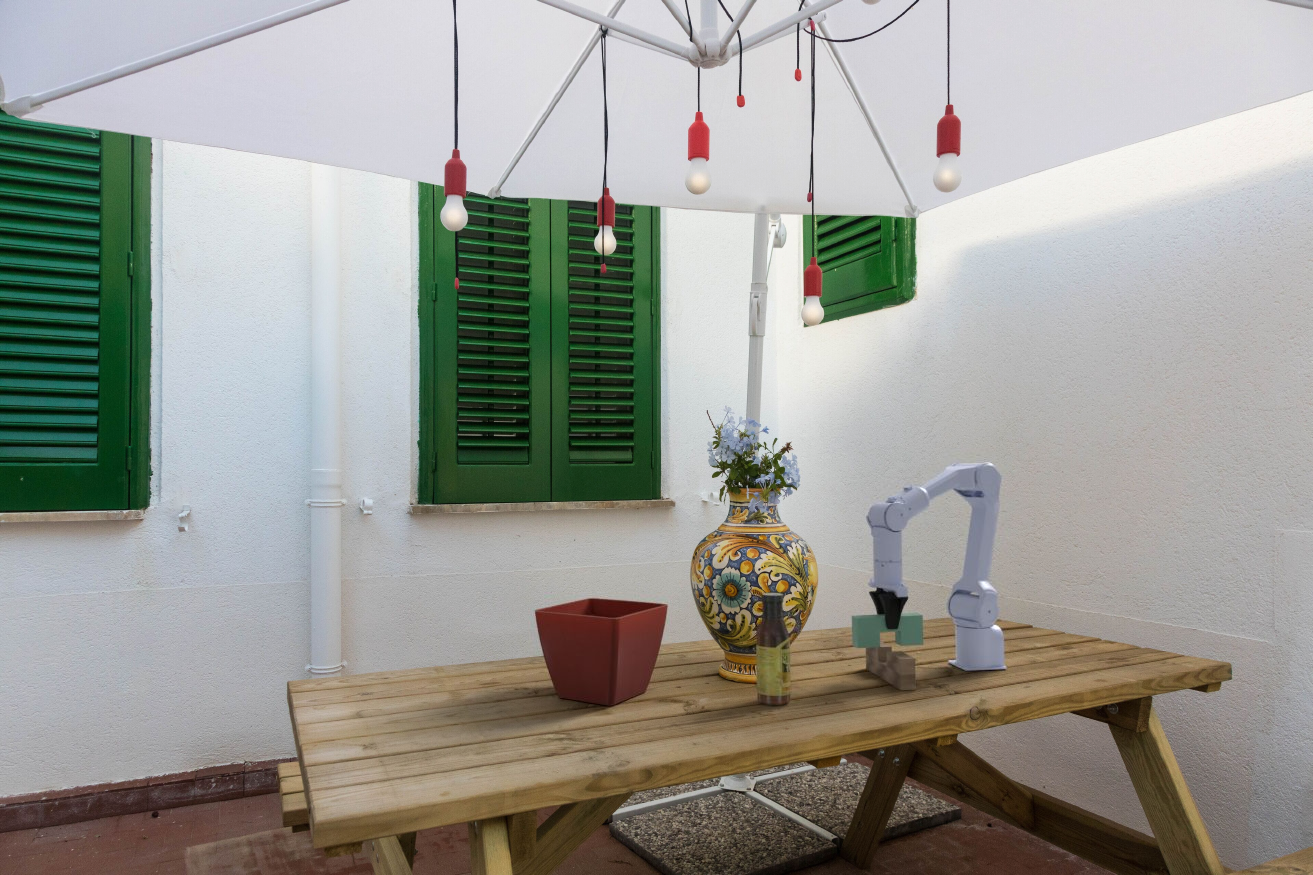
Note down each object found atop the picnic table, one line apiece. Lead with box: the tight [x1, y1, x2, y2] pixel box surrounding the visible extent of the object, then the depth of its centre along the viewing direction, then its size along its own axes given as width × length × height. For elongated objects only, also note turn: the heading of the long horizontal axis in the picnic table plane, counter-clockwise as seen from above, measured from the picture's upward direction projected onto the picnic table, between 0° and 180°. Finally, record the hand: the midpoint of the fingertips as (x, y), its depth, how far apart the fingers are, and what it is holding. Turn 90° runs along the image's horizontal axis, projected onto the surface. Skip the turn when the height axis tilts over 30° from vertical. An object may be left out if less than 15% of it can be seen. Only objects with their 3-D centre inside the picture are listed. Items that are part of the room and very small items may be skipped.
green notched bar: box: [851, 612, 925, 649], centre depth 173 cm, size 14×3×6 cm, turn 98°
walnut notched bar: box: [865, 640, 917, 691], centre depth 172 cm, size 18×3×6 cm, turn 8°
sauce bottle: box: [755, 592, 792, 706], centre depth 156 cm, size 6×6×20 cm
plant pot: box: [534, 597, 669, 706], centre depth 162 cm, size 19×19×17 cm
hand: (888, 627), depth 173 cm, fingers closed on green notched bar, 3 cm apart
